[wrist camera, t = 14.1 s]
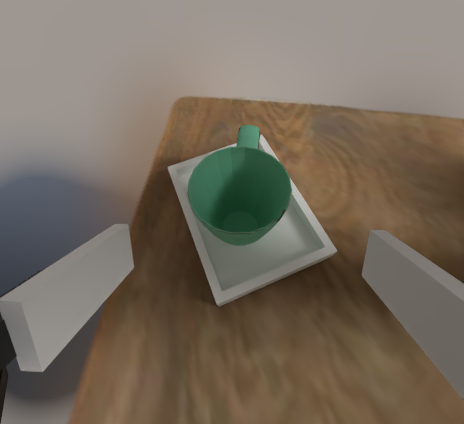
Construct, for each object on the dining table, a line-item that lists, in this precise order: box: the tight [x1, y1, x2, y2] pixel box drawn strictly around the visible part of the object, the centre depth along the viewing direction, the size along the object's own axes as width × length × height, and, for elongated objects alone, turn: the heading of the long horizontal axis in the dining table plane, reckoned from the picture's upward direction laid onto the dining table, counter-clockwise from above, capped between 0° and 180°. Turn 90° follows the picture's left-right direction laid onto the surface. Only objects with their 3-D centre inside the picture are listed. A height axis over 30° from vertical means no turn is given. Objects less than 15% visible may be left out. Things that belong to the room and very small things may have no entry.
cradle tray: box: [167, 135, 337, 307], centre depth 32 cm, size 15×20×2 cm
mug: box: [187, 125, 292, 246], centre depth 28 cm, size 15×10×10 cm
